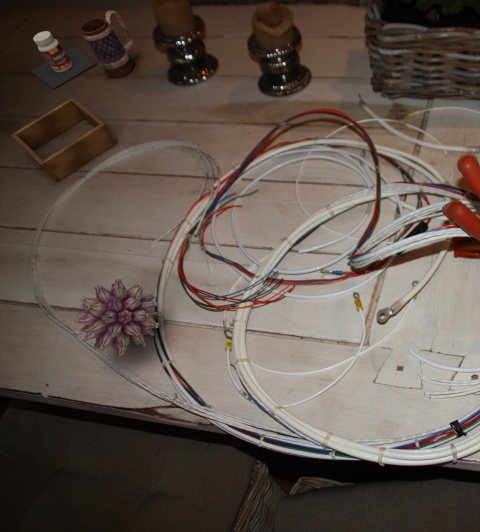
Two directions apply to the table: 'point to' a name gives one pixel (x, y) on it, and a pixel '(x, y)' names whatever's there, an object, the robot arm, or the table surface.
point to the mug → (108, 45)
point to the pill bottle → (52, 51)
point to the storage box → (75, 151)
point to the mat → (60, 78)
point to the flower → (118, 316)
